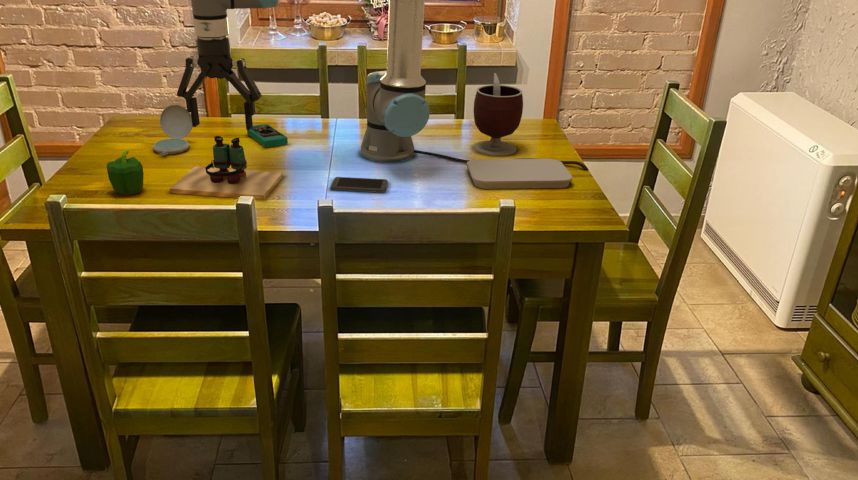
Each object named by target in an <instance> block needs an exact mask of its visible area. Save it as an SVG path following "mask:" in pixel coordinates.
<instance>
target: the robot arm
mask: <svg viewBox="0 0 858 480" xmlns="http://www.w3.org/2000/svg"><path fill="white" fill-rule="evenodd" d="M190 1H191V2H190V3H191V8H192V16H193V24H194V32H195V36H196V37H197V38H196V39H195V41H196V51H197V55H198V57H194V56H193V55H191V56H189V57H187V58H185V68H184V71H183V74H182V78H181V81H180V84H179V86H178V88H177V92H176V96H177V97H179V98H183V99H184V100H185V107H186V109H187V111H188V112H190V114H191V118H192V126H193V127H192V128H196V127H198V126H199V125H200V123H201V122H200V114H199V106H198V98H197V97H194V96H195V94H196V93H197V91H198V90H199V88H200V87H201V86H202V84H203V83H204V81H205V80H206V79H207V77H208V78H209V79H219V80H222V79H224V80H225V81H227V82H229V84H231V85H232V86H233V87H234V89H235V90H236V91H237V92H238V94H239V95H240V96H241V97H242V98H243V99H244V100H245V101H244V102H243V110H244V111H243V112H244V119H245V129H246V131H247V130H250V129H251V128H252V127H253V126H254V124H253V116H255V114H256V105H255V102H258V100H260V99H261V98H262V96H263V95H262V93H261V91H260V89H259V88H258V85H257V84H256V82H255V81H254V78H253V77H252V75H251V73H250V71H249V70H248V68H247V63H246V59H245V58H243V57H242V58H240V59H233V57H232V49H231V40H230V38H229V37H228V36H229V35H230V31H229V30H230V28H229V21H228V11H227V10H241V9H242V10H243V9H244V10H245V9H262V10H266V9H270V8H277V6H279V3H280V0H190ZM388 1H389V2H388V25H387V51H386V52H387V55H386V70H381V71H373V72H369V74H367V76H366V83H365V87H366V129H365V132H364V135H363V139H362V140H361V141H362V142H361V144H360V155H361V157H363V158H365V159H366V160H369V161H372V162H378V163H399V162H404V161H408V160H410V159H411V158H413V157H414V156H415V154H418V155H424V156H430V157H437V158H441V159H445V160H450V161H452V162H456V163H457V162H458V163H464V164H467V162H468V161H470V160H471V159H463V158H458V157H453V156H449V155H446V154H441V153H435V152H429V151H425V150H418V149H415V145H414V142H413V136H415V135H417V134H419V133H420V132H421V131H422V130H424V128H425V127H426V126H427V124H428V122H429V119H430V113H431V111H430V107H429V104H428V101H427V100H426V88H427V81H426V80H425V78H424V77H423V75H421V71H422V55H423V54H422V53H423V40H424V39H423V37H424V20H425V5H426V4H425V3H426V0H388ZM197 66H198V67H199V68H200V69H201V71H200V73H199V74H198V75H197V77H196V79H195V80H194V82H193V83H192V84H191V86H190V87H189V85H190V82H191V79H192V76H193V73H194V71H195V68H196V67H197ZM233 67H235V69H236V70H238V73H239V75H240V77H241V79H242V81H241V80H240V79H239V77H238V76H237V74H236V73H235V72H234V70H233ZM188 87H189V89H188ZM516 159H538V158H536V157H535V158H534V157H532V158H531V157H523V158H522V157H521V158H520V157H519V158H518V157H517V158H516ZM559 161H560V162H562V163H563V165H577V166H579V167H581V168H582V169H583V170H585V171H589V168H588V167H587V165H585V164H584V163H582V162H580V161H576V160H559Z"/></svg>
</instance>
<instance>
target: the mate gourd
mask: <svg viewBox="0 0 858 480" xmlns="http://www.w3.org/2000/svg"><path fill="white" fill-rule="evenodd" d="M523 110H524V97H523V90H522V89H521V88H518V87H515V86H511V85H503V84H501V83H500V79H499V76H498V74H497V72H494V73H493V83H492V84H486V85H482V86H479V87H477V88H476V93H475V95H474V100H473V120H474V125H475V126H476V128H477V130H478V131H479V133H481V134H483V135H485V136H488V137H490V139H489V140H481V141H477V142H476V143H474V145H473V150H474V151H475V152H476V153H479V154H481V155H484V156H488V157H489V156H490V157H505V156H506V157H507V156H511V155H513V154H515V153H516V152H517V147H516V145H515V144H513V143H510V142H508V141H504V140H502V139H501V138H504V137H507V136H510V135H512V134H514V133H515V131H516V130H517V129H518V128H519V127H520V123H521V121H522V117H523Z"/></svg>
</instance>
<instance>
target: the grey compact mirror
mask: <svg viewBox="0 0 858 480" xmlns="http://www.w3.org/2000/svg"><path fill="white" fill-rule="evenodd" d="M159 124H160V128H161V130H162V132H163V133H164V134H165V135H166V136H168V137H169V138H165V139H160V140H157V141H156V142H154V143H153V146H152V149H153V151H154V152H156V153H158V154H159V156H166V155H176V154H181V153H184V152H186V151H187V150H189V149H190V146H191V145H190V143H189V142H188V140H186V139H184V138H186V137H187V136H189V135H190V133H191V132H192V130H193V128H194V127H193V126H192V118H191V112H188V111H187V107H184V106H183V105H181V104H170V105H168V106H166V107H165V108H164V109H163V110H162V111H161V114H160V116H159Z"/></svg>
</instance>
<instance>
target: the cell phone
mask: <svg viewBox="0 0 858 480" xmlns="http://www.w3.org/2000/svg"><path fill="white" fill-rule="evenodd" d="M388 183H389V181H388V179H386V178H371V177H369V178H368V177H367V178H366V177H350V176H349V177H348V176H347V177H345V176H336V177H334V178H333V180H332V182H331V184H330V189H331V190H332V191H346V192H347V191H349V192H365V193H366V192H367V193H368V192H369V193H385V192H386V190H387V187H388Z"/></svg>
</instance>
